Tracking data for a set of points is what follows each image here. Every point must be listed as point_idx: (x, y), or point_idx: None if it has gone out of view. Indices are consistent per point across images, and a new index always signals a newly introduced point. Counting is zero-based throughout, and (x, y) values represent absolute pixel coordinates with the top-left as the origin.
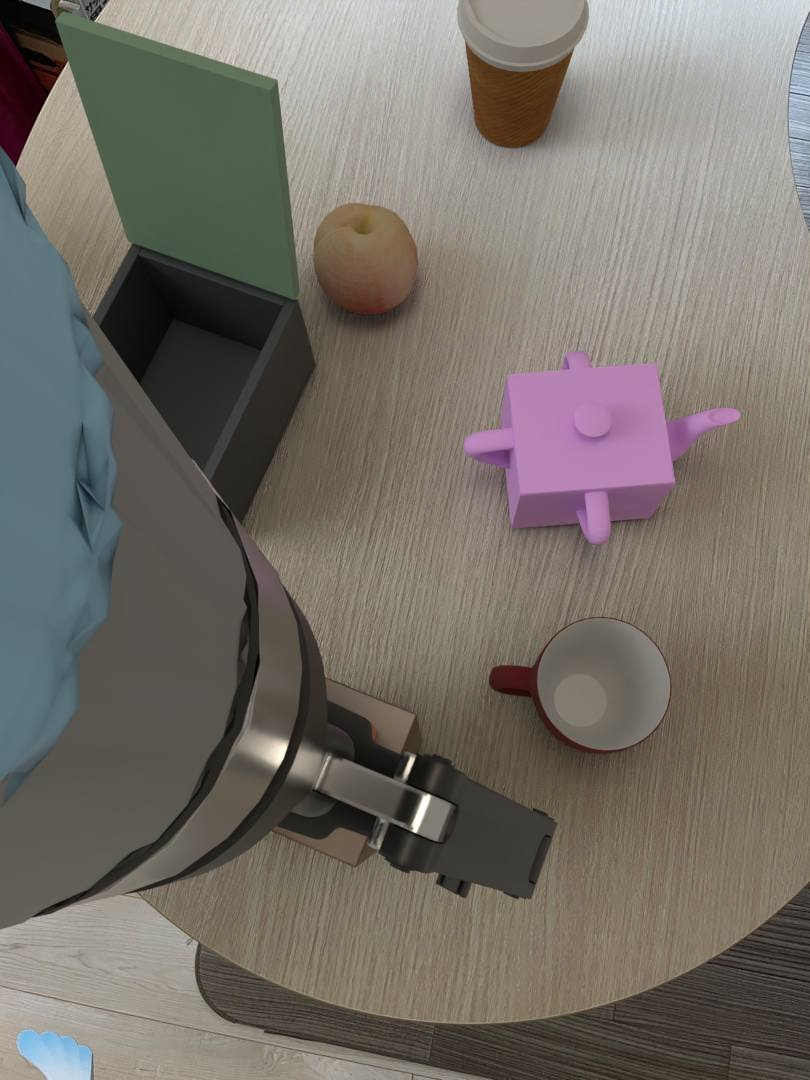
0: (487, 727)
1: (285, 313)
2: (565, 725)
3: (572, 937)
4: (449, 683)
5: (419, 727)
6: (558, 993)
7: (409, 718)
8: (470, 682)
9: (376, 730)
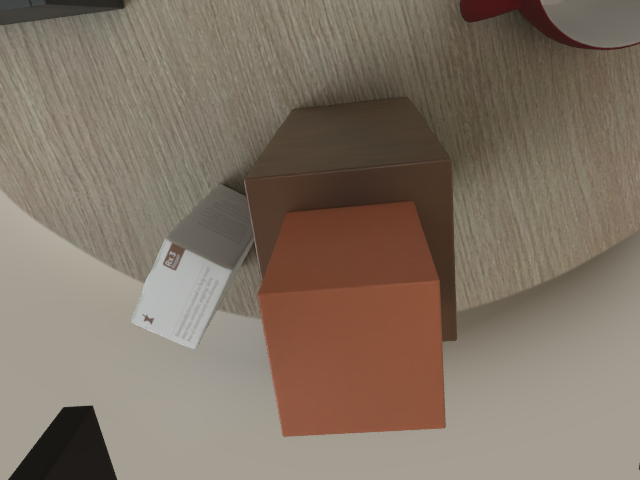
0: (465, 53)
1: None
2: (547, 10)
3: (610, 191)
4: (409, 30)
5: (426, 123)
6: (610, 237)
7: (444, 168)
8: (430, 17)
9: (417, 213)
